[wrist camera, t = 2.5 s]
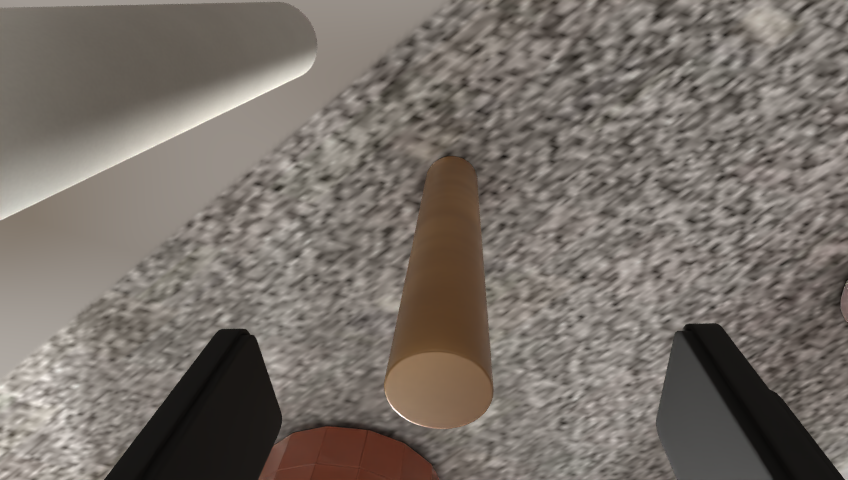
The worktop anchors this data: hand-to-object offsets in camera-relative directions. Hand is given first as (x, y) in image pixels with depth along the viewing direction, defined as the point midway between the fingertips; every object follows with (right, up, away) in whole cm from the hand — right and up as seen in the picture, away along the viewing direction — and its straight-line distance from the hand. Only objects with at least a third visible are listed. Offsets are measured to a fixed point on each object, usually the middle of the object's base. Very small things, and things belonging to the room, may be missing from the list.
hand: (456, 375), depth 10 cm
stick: (+1, +6, +11) cm, 13 cm away
